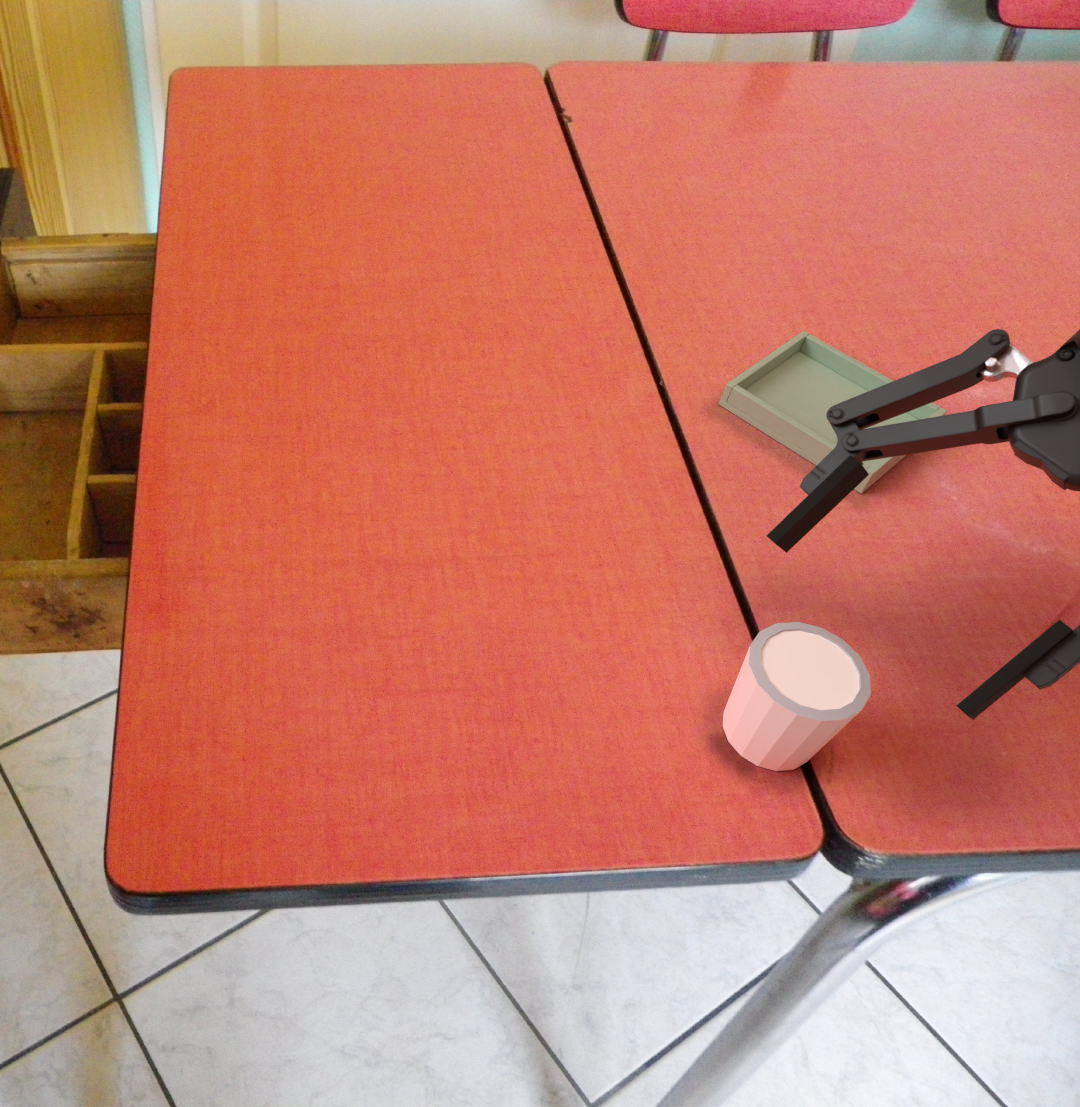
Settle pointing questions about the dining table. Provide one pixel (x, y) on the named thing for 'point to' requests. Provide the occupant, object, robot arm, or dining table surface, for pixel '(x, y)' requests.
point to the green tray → (809, 399)
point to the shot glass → (793, 695)
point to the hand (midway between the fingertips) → (863, 623)
